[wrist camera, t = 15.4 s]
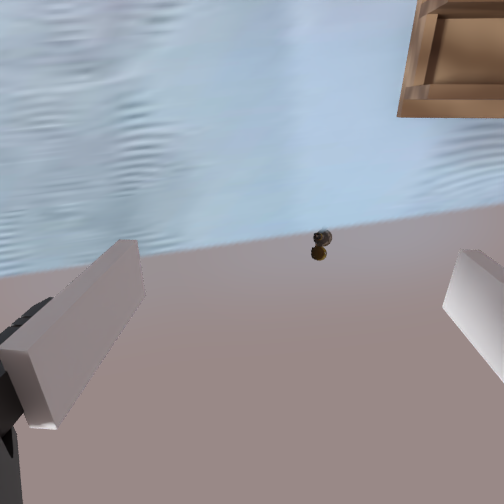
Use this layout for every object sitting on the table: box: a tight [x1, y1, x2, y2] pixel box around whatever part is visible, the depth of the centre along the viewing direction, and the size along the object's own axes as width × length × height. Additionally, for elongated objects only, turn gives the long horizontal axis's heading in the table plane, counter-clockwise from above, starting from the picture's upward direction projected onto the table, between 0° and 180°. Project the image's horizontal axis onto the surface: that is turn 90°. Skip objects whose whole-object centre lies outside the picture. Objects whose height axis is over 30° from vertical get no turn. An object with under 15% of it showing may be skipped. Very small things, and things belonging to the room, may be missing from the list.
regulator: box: [311, 229, 332, 261], centre depth 70 cm, size 8×4×15 cm
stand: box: [397, 0, 504, 118], centre depth 31 cm, size 12×14×9 cm
